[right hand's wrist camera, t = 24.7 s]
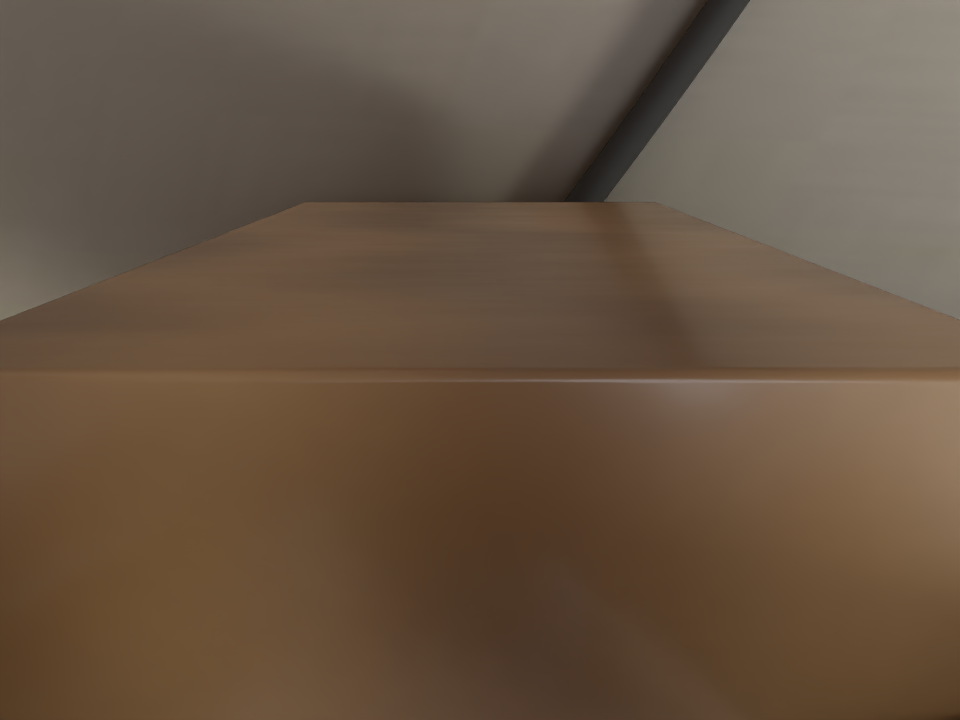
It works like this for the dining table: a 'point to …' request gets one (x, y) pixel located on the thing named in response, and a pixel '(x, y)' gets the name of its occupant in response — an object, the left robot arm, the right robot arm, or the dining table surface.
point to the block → (480, 478)
